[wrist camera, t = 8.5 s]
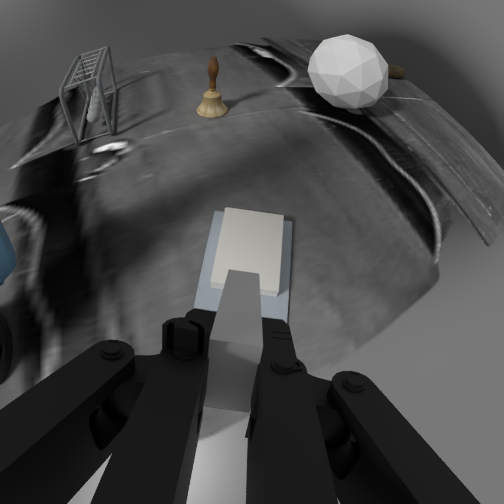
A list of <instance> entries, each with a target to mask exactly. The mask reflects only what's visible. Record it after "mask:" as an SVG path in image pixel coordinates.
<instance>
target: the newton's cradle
mask: <svg viewBox="0 0 504 504" xmlns="http://www.w3.org/2000/svg"><path fill="white" fill-rule="evenodd" d="M102 49H105V51H104V54H103V57H102V60H101V63H100V67H99V70H98V73H97V76H96V71H95V70H96V65H97V62H98V61H99V56H100V53H101V51H102ZM98 50H100V53H99V55H98V58H97V61H96V62H95V66H94V70H93V72H92V76H91V75H90V76H91V78H89V79H86V76H87V75H86V76H85V74H86V73H85V71H84V67H83V62H82V58H83V56H84V55H85V54H88V53H91V52H94V51H98ZM94 51H91V52H88V53H84V54H81V55H80V54H78V55H77V56H76V58H75V60H74V61H73V63H72V65H71V67H70V69H69V71H68V73H67V75H66V76H65V78H64V80H63V82H62V85H61V87H60V89H59V97H60V101H61V104H62V107H63V110H64V113H65V116H66V119H67V122H68V125H69V128H70V131H71V133H72V136H73V139H74V142H75V144H76V145H78V146H79V145H80V144H81V142H83V141H86V140H89V139H93V138H96V137H99V136H103V135H106V134H110V135H113V134H114V126H115V107H116V94H117V87H116V81H115V76H114V70H113V64H112V58H111V52H110V47H109V46H106V47H104V48H101V49H97V50H94ZM82 55H83V56H82ZM107 55H108V62H109V67H110V73H111V79H112V84H113V92H109V93H113V100H112V111H111V121H110V117H109V113H108V109H107V105H106V101H105V96H104V95H106V94H109V93H105V94H104V89H103V87H102V82H101V76H102V72H103V68H104V63H105V60H106V57H107ZM81 56H82V57H81ZM78 60H79V64H78V66H77V68H76V70H75V72H74V74H73V77H72V79H71V81H70V83H69V85H68V86H66V87H65V85H66V83H67V81H68V79H69V77H70V75H71V73H72V71H73V69H74V67H75V65H76V63H77V61H78ZM84 64H85V63H84ZM79 65H80V69H81V71H79V72H81V75H82V78H83V81H80V82H77V83H74V84H71V82H72V80H73V78H74V75H75V73H77V72H76V71H77V69H78V68H79ZM85 66H86V65H85ZM87 70H88V69H87ZM94 71H95V77H93V74H94ZM88 72H89V71H88ZM90 73H91V72H90ZM90 73H89V74H90ZM77 77H78V76H77ZM78 78H79V77H78ZM87 78H88V77H87ZM91 79H92V86H91V87H92V94H91V95H92V96H91V98H90V93H91V92H90V93H89V91H90V90H89V88H88V84H87V81H89V80H91ZM93 79H95V84H94V85H95V88H94V89H93V83H94V81H93ZM96 81H97V86H96ZM75 82H76V81H75ZM82 82H84V86H85V89H84V90H85V92H86V95H87V100H85V98H84V96H83V94H82V93H81V94H82V96H83V98H84V100H85V102H86V104H85V108H84V112H83V116H82V121H81V125H80V130H79V135H78V137H77V134H76V132H75V129H74V126H73V123H72V120H71V117H70V114H69V111H68V108H67V104H66V101H65V98H64V92H63V90H64V88H67V87H70V86H73V85H76V84H79V83H81V84H82ZM89 83H90V81H89ZM90 85H91V83H90ZM77 86H78V85H77ZM82 86H83V85H82ZM78 88H79V87H78ZM83 88H84V87H83ZM79 90H80V89H79ZM80 92H81V91H80ZM90 99H91V101H90ZM89 101H90V106H88V105H89ZM101 105H102V108H103V112H104V116H105V120H106V124H107V128H108V131H109V132H108V133H104V134H101V135H98V136H94V137H91V138H88V139H85V140H82V134H83V129H84V124H85V119H86V114H87V109H88V107H89V109H88V114H87V120H88V121H89V122H90V123H95V122H97V121H98V120H99V118H100V112H101ZM81 140H82V141H81Z"/></svg>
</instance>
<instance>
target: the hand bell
mask: <svg viewBox="0 0 504 504" xmlns="http://www.w3.org/2000/svg"><path fill="white" fill-rule="evenodd" d="M218 70H219V65H218V62H217V58H216V57H211V60H210V62H209V65H208V74H209V78H210V84H209V91H206V92H205V93H204V96H203V101H202V103H201V105H199V106H198V108H197V113H198V115H200V116H202V117H206V118H216V117H221V116H223V115H225V114H226V113H227V112H228V108H227V106H226V105H225V104H223V102H222V98H221V93H220V92H219V91H217V90H216V77H217V75H218Z"/></svg>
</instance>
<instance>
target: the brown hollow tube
mask: <svg viewBox="0 0 504 504" xmlns="http://www.w3.org/2000/svg"><path fill="white" fill-rule="evenodd" d="M404 75H405V72H404V69H403V68H402V67H400V66H395V65H388V77H391V78H402V77H404Z"/></svg>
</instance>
